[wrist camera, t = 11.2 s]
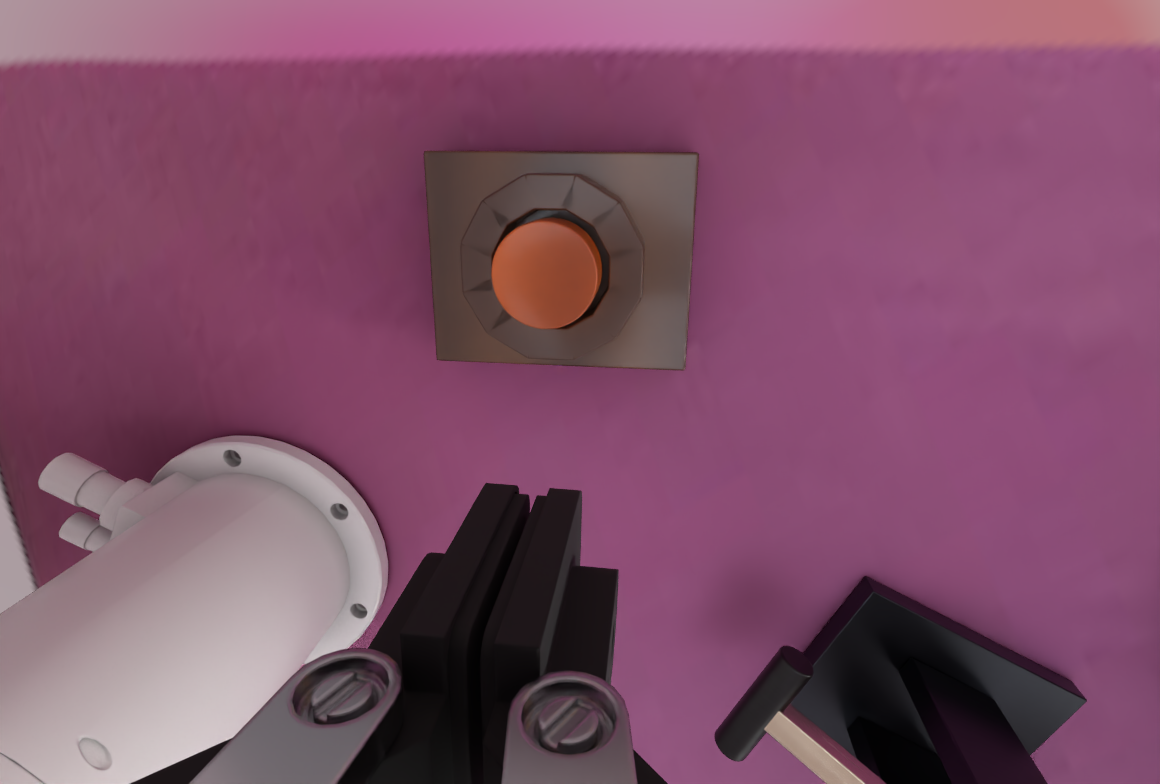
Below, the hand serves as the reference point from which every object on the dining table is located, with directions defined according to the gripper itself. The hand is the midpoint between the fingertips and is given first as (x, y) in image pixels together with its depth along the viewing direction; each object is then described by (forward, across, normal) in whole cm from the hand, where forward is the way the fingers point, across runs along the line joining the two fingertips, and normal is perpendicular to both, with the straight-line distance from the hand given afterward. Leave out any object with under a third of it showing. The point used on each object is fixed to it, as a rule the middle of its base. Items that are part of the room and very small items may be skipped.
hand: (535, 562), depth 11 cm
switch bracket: (+17, -15, +17) cm, 29 cm away
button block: (+17, +2, -3) cm, 17 cm away
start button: (+14, +2, -3) cm, 14 cm away
